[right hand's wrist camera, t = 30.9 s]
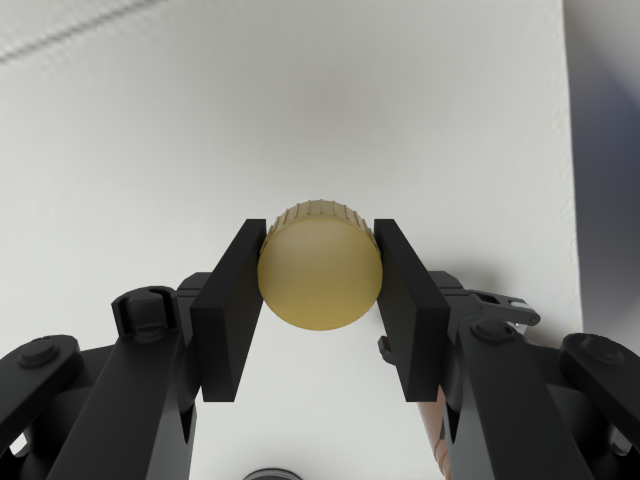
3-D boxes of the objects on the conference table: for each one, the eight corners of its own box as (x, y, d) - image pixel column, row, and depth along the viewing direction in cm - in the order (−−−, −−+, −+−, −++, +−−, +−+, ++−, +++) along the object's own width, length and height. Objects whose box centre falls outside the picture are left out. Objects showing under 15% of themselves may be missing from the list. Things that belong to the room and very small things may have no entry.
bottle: (386, 320, 38) (477, 612, 16) (381, 283, 37) (475, 553, 15) (429, 313, 38) (579, 601, 16) (426, 276, 36) (588, 540, 14)
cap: (398, 242, 14) (412, 267, 12) (329, 318, 15) (330, 352, 13) (309, 174, 13) (307, 188, 11) (243, 261, 14) (230, 288, 12)
